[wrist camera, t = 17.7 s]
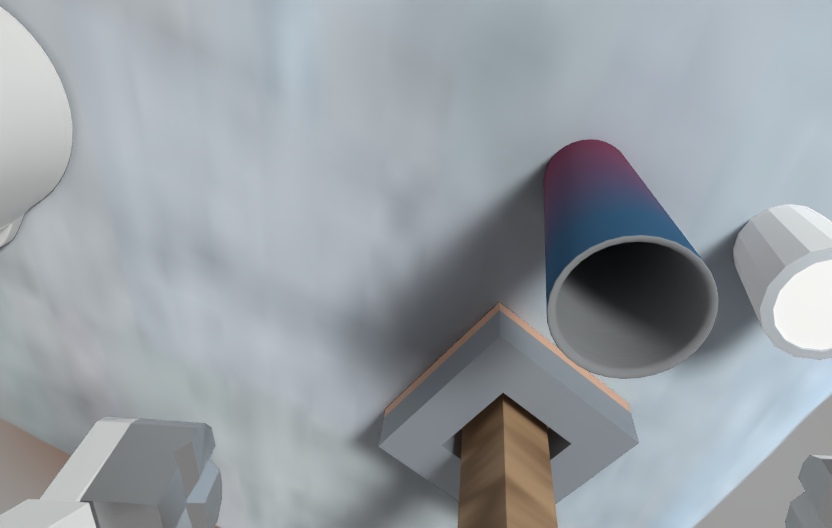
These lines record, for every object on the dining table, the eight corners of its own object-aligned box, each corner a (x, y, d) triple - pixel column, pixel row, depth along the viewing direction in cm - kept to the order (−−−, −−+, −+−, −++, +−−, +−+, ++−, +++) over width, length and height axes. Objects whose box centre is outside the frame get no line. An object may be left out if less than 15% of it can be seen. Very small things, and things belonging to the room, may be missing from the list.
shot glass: (756, 179, 42) (803, 230, 35) (866, 214, 42) (931, 269, 36) (702, 278, 45) (736, 340, 39) (804, 309, 45) (854, 375, 39)
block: (505, 446, 51) (513, 698, 35) (462, 415, 50) (451, 659, 34) (545, 414, 49) (572, 663, 33) (502, 381, 48) (509, 621, 33)
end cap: (508, 495, 54) (510, 537, 51) (385, 408, 52) (378, 446, 48) (628, 403, 50) (639, 443, 46) (499, 302, 47) (500, 335, 43)
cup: (595, 252, 45) (641, 404, 31) (505, 194, 43) (513, 327, 30) (670, 165, 42) (756, 293, 28) (576, 101, 40) (620, 203, 27)
